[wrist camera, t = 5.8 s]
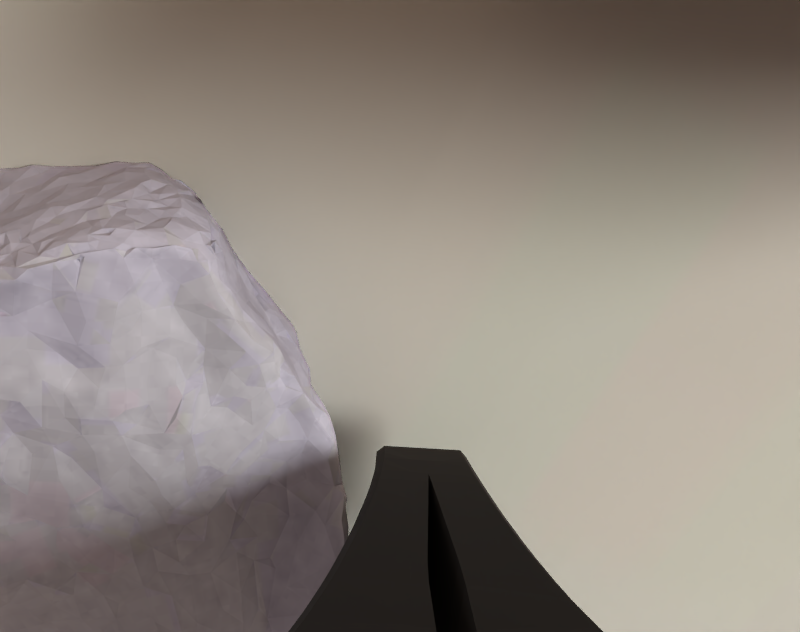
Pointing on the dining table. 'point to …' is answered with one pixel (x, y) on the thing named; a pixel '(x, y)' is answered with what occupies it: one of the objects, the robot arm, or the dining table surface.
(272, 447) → the stone block
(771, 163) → the dining table surface
